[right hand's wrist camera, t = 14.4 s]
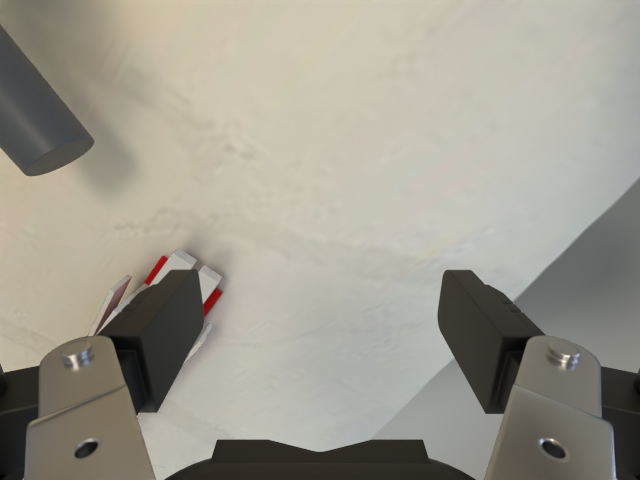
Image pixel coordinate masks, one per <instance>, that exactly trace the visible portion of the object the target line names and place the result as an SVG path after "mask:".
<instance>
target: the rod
mask: <svg viewBox="0 0 640 480" xmlns="http://www.w3.org/2000/svg"><path fill="white" fill-rule="evenodd" d="M93 144H94V139H93V138H92V137H91V135H90V134H89V133H88V132H87V130H86V129H85V128H84V127H83V126H82V124H81V123H80V122H79V121H78V119H77V118H76V117H75V116H74V114H73V113H72V112H71V111H70V110H69V108H68V107H67V106H66V105H65V103H64V102H63V101H62V100H61V98H60V97H59V96H58V95H57V94H56V92H55V91H54V90H53V89H52V87H51V86H50V85H49V84H48V83H47V81H46V80H45V79H44V78H43V76H42V75H41V74H40V73H39V71H38V70H37V69H36V68H35V67H34V65H33V64H32V63H31V62H30V60H29V59H28V58H27V57H26V55H25V54H24V53H23V52H22V51H21V49H20V48H19V47H18V46H17V44H16V43H15V42H14V41H13V40H12V38H11V37H10V36H9V35H8V33H7V32H6V31H5V30H4V28H3V27H2V26H1V25H0V148H1V149H2V150H3V151H4V152H5V153H6V154H7V155H8V156H9V157H10V159H11V160H12V161H13V162H14V163H15V164H16V165H17V166H18V167H19V168H20V170H21V171H22V172H23V173H24V174H25V175H27V176H37V175H42V174H45V173H48V172H51V171H54V170H56V169H58V168H61V167H63V166H65V165H67V164H69V163H71V162H72V161H74V160H76V159H77V158H79V157H80V156H82V155H83V154H84V153H86V152H87V151H88V150H89V149H90V148H91V147H92V146H93Z"/></svg>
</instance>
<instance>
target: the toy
mask: <svg viewBox="0 0 640 480" xmlns="http://www.w3.org/2000/svg"><path fill="white" fill-rule="evenodd" d="M196 262H197V260H196V259H195V258H193V257H192V256H190V255H189V254H187V253H186V252H184V251H183V250H181V249H179V248H178V249H177V250H175V251H174V252H173V253H172V254H171V256H170V257H169V259H168V258H166V257H164V256H162V257H161V259H160V260H159V261H158V263H157V264H156V266H155V267H154V269H153V270H152V272H151V273H150V275H149V276H148V277H147V279H146V280H145V282H144V283H143V285H142V286H141V287H139V288H138V289H137V290H136V291H135V292H134V293H133V294H131V295H130V296H129V297H128V298H127V299H126V300H125V301H123V302H122V303H121V304H120V305H119V306H118V307H117V305H118V303H119V301H120V299H121V297H122V295H123V293H124V291H125V289H126V287H127V285H128V283H129V281H130V280H131V278H132V276H130V275H127V276H126V277H124V278H123V279H122V280H121V281H120V282H119V283H118V284H116V285H115V286H114V287H113V288H112V289H111V290H110V291H109V293H108V295H107V297H106V299H105V301H104V303H103V305H102V308H101V310H100V312H99V314H98V316H97V318H96V320H95V322H94V324H93V326H92V328H91V330H90V332H89V334H88V336H96V335H97V334H98V333H99V332H100V331H101V330H102V329H103V328H104V327H105V326H106V325H107V324H108V323H109V322H110V321H111V320H112V319H113V318H114V317H115V316H116V315H117V314H118V313H119V312H122V309H123V308H124V307H125V306H126V305H127V304H130V301H131V300H132V299H133V298H134V297H135V296H136V295H137V294H138V293H139V292H141V291H143V290H144V289H146V288H148V287H150V286H152V285H153V284H158V283H159V282H160V281H161V279H162V278H163V277H164V276H165V275H166V274H167V273H168V272H169V271H170V270H172V269H192V267H193V266H194V264H195V263H196ZM198 274H199V279H200V286H201V294H202V301H203V308H204V317H205V316H206V315H207V313H208V312H209V311H210V309H211V308H212V306H213V305H214V304H215V302H216V301H217V299H218V298H219V297H220V295H221V294H222V292H221V291H219V290H218V289H216V286H217V285H218V284H219V282H220V280H221V278H222V276H220V275H219V274H217V273H216V272H214V271H213V270H211V269H210V268H208V267H207V266H205V265H204V266H203V267H202V268H201V269H200V271H199V272H198ZM116 307H117V308H116ZM211 327H212V325H211V324H210V323H209V324H208V325H207V326H206V327H205V328H204V329H203V330H202V331H201V333H200V334H199V336H198V338H197V340H196V341H195V343H194V345H193V347H192V349H191V351H190V353H189V354H188V356H187V358H186V360H185V362H186V361H187V360H188V359H189V358H190V357H191V356H192V355H193V354H194V353H195V352H196V351H197V349H198V348H199V347H200V346H201V345H202V344H203V343H204V341H205V339H206V337H207V335H208V333H209V331H210V329H211ZM185 362H184V364H185ZM184 364H183V365H184ZM183 365H182V366H183Z"/></svg>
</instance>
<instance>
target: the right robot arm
mask: <svg viewBox="0 0 640 480" xmlns="http://www.w3.org/2000/svg"><path fill="white" fill-rule="evenodd" d="M203 323H204V308H203V301H202V294H201V286H200V279H199V274H198V272H197V270H195V269H172V270H170V271H169V272H168V273H167V274H166V275H165V276H164V277H163V278H162V279H161V281H160V282H159V283H158V284H153V285H152V286H150V287H148V288H146V289H144V290H143V291H141V292H139V293H138V294H137V295H136V296H135V297H134V298H133V299H132V300H131V301H130V304H127V305H126V306H125V307H124V308H123V309H122V312H119V313H118V314H117V315H116V316H115V317H114V318H113V319H112V320H111V321H110V322H109V323H108V324H107V325H106V326H105V327H104V328H103V329H102V330H101V331H100V332H99V333H98V334H97V335H96V336H86V337H81V338H78V339H74V340H72V341H69V342H67V343H64V344H62V345H60V346H58V347H57V348H55V349H53V350H52V351H51V352H49V353H48V354H47V355H46V356H45V357H44V358H43V359H42V361H41V363H40V365H39V366H35V367H30V368H25V369H20V370H15V371H10V372H5V373H4V372H3V369H2V367H1V364H0V480H22V479H23V478H24V480H156V478H155V474H154V471H153V468H152V465H151V461H150V458H149V455H148V452H147V448H146V445H145V442H144V439H143V435H142V432H141V429H140V426H139V422H138V419H137V414H138V413H139V412H158V410H159V408H160V406H161V404H162V402H163V400H164V399H165V397H166V395H167V393H168V391H169V389H170V388H171V386H172V384H173V382H174V380H175V378H176V376H177V375H178V373H179V371H180V369H181V367H182V365H183V364H184V362H185V360H186V358H187V356H188V354H189V353H190V351H191V349H192V347H193V345H194V343H195V341H196V340H197V338H198V336H199V334H200V332H201V330H202V327H203ZM438 325H439V329H440V331H441V333H442V335H443V337H444V339H445V341H446V342H447V344H448V346H449V348H450V350H451V351H452V353H453V355H454V357H455V359H456V361H457V362H458V364H459V366H460V368H461V370H462V371H463V373H464V375H465V377H466V379H467V381H468V382H469V384H470V386H471V388H472V390H473V391H474V393H475V395H476V397H477V399H478V401H479V402H480V404H481V406H482V408H483V410H484V412H485V413H486V414H504V416H503V419H502V422H501V426H500V429H499V432H498V435H497V439H496V442H495V445H494V448H493V452H492V455H491V458H490V461H489V465H488V468H487V471H486V474H485V478H484V480H616V478H617V479H618V480H640V369H639V372H638V374H637V373H632V372H627V371H622V370H617V369H612V368H607V367H602V366H601V365H600V363H599V361H598V359H597V358H596V357H595V356H594V355H593V354H592V353H591V352H589V351H588V350H586V349H585V348H583V347H582V346H580V345H578V344H576V343H573V342H571V341H568V340H566V339H562V338H559V337H554V336H546V335H545V334H544V333H543V332H542V331H541V330H540V329H539V328H538V327H537V326H536V325H535V324H534V323H533V322H532V321H531V320H530V319H529V318H528V317H527V316H526V315H525V314H524V313H521V310H520V309H519V308H518V307H517V306H516V305H515V304H513V302H512V301H511V300H510V299H509V298H508V297H507V296H506V295H505V294H504V293H502V292H500V291H499V290H497V289H495V288H493V287H491V286H490V285H485V284H484V283H483V282H482V281H481V280H480V279H479V278H478V277H477V276H476V275H475V274H474V273H473V271H471V270H446V271H445V272H444V274H443V279H442V286H441V293H440V300H439V307H438ZM165 480H475V479H474V478H472V477H471V476H469V475H467V474H466V473H464V472H462V471H460V470H458V469H456V468H454V467H452V466H450V465H448V464H445V463H442V462H439V461H437V460H433V459H429V458H428V455H427V452H426V449H425V445H424V442H423V440H369V441H365V442H361V443H357V444H353V445H349V446H345V447H341V448H337V449H333V450H329V451H325V452H315V451H311V450H307V449H303V448H299V447H295V446H291V445H287V444H283V443H279V442H275V441H271V440H217V442H216V445H215V449H214V452H213V455H212V458H211V459H207V460H203V461H201V462H198V463H195V464H192V465H190V466H188V467H186V468H184V469H182V470H180V471H178V472H176V473H174V474H173V475H171V476H169V477H168V478H166V479H165Z"/></svg>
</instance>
